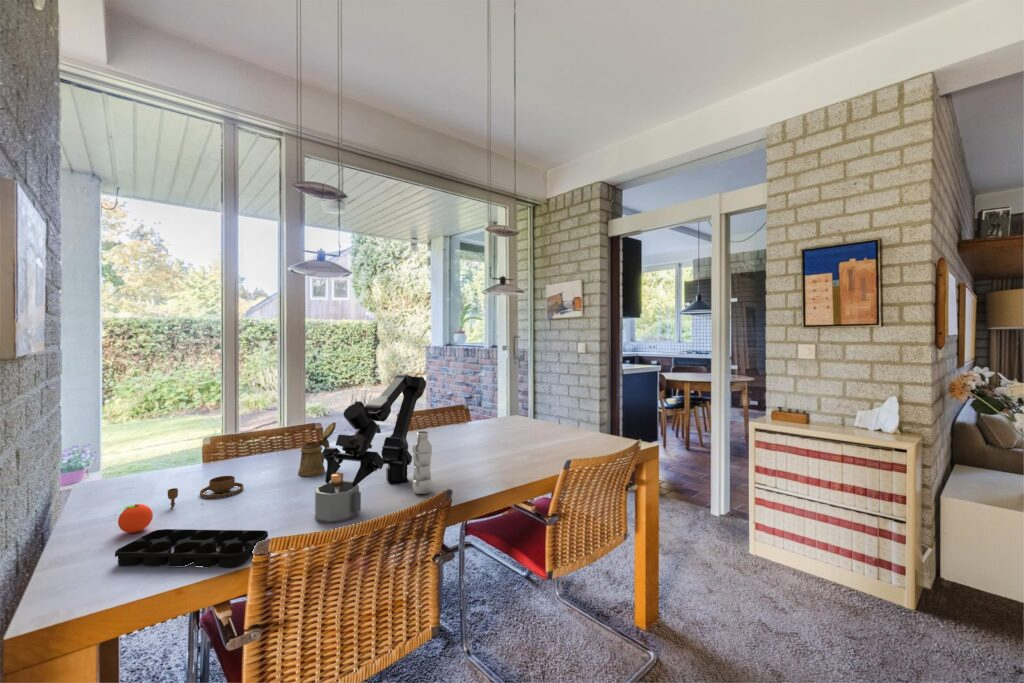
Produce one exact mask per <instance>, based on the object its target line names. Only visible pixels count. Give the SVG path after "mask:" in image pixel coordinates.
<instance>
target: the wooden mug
mask: <svg viewBox="0 0 1024 683" xmlns="http://www.w3.org/2000/svg"><path fill="white" fill-rule="evenodd" d="M336 427H337V426H336V422H335V421H334V422H332V423H331V424H329V425H328V426H326V428H325V429H324V431H323V433H322V438H321V439H318V440H317V441H306V442H303V443H302V445H301V446H302V447H301V448H300V453H301V455H300V456H301V457H300V464H299V469H298V471H297V472H298V473H297V475H298V476H300V477H304V476H306V477H307V476H310V477H316V476H319V474H320V475H323V474H324V473H325V472H326V471H325V468H326V467H325V466H324V462H325V460H326V459H325V458H324V457H323V456H322V455H321V454H322V451H323V447H324V449H325V448H327V447H330V441H329V439H328V438H330V437H331V436H332V434H333V433H334V431H335V429H336ZM315 475H316V476H315ZM306 477H305V478H306ZM307 478H308V477H307Z"/></svg>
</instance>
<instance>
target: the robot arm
mask: <svg viewBox="0 0 1024 683" xmlns="http://www.w3.org/2000/svg"><path fill="white" fill-rule="evenodd" d="M426 387H427V381H426V380H425V378H424V377H423V376H414V375H413V376H412V375H409V374H400V373H399V374H396V375H395V376H394V379H393V380H392V381H391V382H390V383H389V385H388V386H387V387H386V388H385V389H384V391H383V392H382V393H381V395H380V396H378V397H376V398H374V399H371V400H370V401H369V402H367V403H366V404H365V405H364V403H363V402H362V401H359V400H358V401H357V400H356V401H355V402H354V403H353V404H351V405H349V406H348V407H347V408H345V409H344V410H343V417H344V419H345V420H346V421H347V422H348V424H349V425H350V426H351V427H352V428H353V429H354V430H356V431H355V433H354V434H351V435H349V434H338V435H337V439H336V441H335V442H336V443H335V446H337V447H338V446H339V447H341V450H342V451H343V452H341V450H340V449H338V448H337V447H330V446H329V447H327V448H325V447H324V449H322V451H321V453H322V454H321V455H322V456H323V457H324V458H325V459H324V460H326V471H325V472H326V474H325V480H324V482H325V483H329V482H331V475H332V474H334V473H338V471H339V469H340V468H341V464H342V463H343V462H344V461H351V462H360V464H359V468H358V470H357V472H356V474H355V477H354V478H353V481H352V482H353V483H352V486H353V487H355V486H356V485H357V484H359V483H360V482H362V481H363V480H364V479H366V478H367V477H369V476H370V475H371V474H372V473H373V472H377V471H378V470H382V468H383V467H384V465H387V467H386V469H385V470H386V471H385V473H386V474H385V479H386V480H387V482H388V483H389V484H390V485H394V483H395V484H399V483H401V482H402V483H406V481H408V482H409V479H408V466H410V465H411V463H412V460H413V455H412V454H411V453H410V452H409V443H408V440H407V435H408V432H409V429H410V425H411V422H412V418H413V414H414V410H415V407H416V404H417V401H418V400H419V399H420V398H421V397H422V396H423V395H424V391H425V389H426ZM401 394H402V395H403V399H402V400H401V404H400V408H399V410H398V414H397V419H396V422H395V425H394V428H393V432H392V434H391V435H390V436H386V437H385V438H384V442H383V445H382V447H381V455H380V454H379V452H378V451H371V450H370V451H369V449H372V448H373V444H372V442H373V440H374V438H375V435H376V434H381V432H382V431H381V428H380V424H377V422H386V420H387V419H388V418H389V416H390V414H391V413H392V405H393V404H394V403H395V401H396V400H397V399H398V398H399V397H400V395H401Z"/></svg>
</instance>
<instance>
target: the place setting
mask: <svg viewBox="0 0 1024 683" xmlns="http://www.w3.org/2000/svg"><path fill="white" fill-rule="evenodd" d="M235 478H236V477H235V476H234V475H221V476H217V477H213V478H211V479H210V480H209V484H208V485H207V486H206V487H204V488H202V489H201V490H200V491H199V495H200V496H201V497H202V498H203V497H206V498H205V499H217V498H216V497H222V498H225V497H224V496H227V497H230V496H229V495H231V496H233V495H232V494H234V495H236V494H235V493H237V494H239V493H240V492H241V491H243V489H244V483H241V482H236V481H235V480H236V479H235ZM234 486H238V487H240V489H239V488H237V489H236V490H233V488H235V487H234ZM207 490H211V491H210V492H213V493H214V494H207V493H205V494H203V493H204V492H205V491H207ZM228 491H230V492H228ZM225 492H227V493H225ZM238 492H239V493H238ZM215 493H223V494H215ZM178 495H179V489H178V488H176V487H174V488H169V489H167V498H168V499H169V500H170V506H171V507H170V508H173V507H176V506H175V505H176V502H175V499H177V497H178ZM173 509H174V508H173Z"/></svg>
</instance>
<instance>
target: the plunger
mask: <svg viewBox="0 0 1024 683" xmlns="http://www.w3.org/2000/svg"><path fill="white" fill-rule="evenodd" d="M343 480H344V473H342V472H336V473H334V474H332V475H331V480H330V482H331V486H332V487H335V493H339V486H342V485H343Z"/></svg>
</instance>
